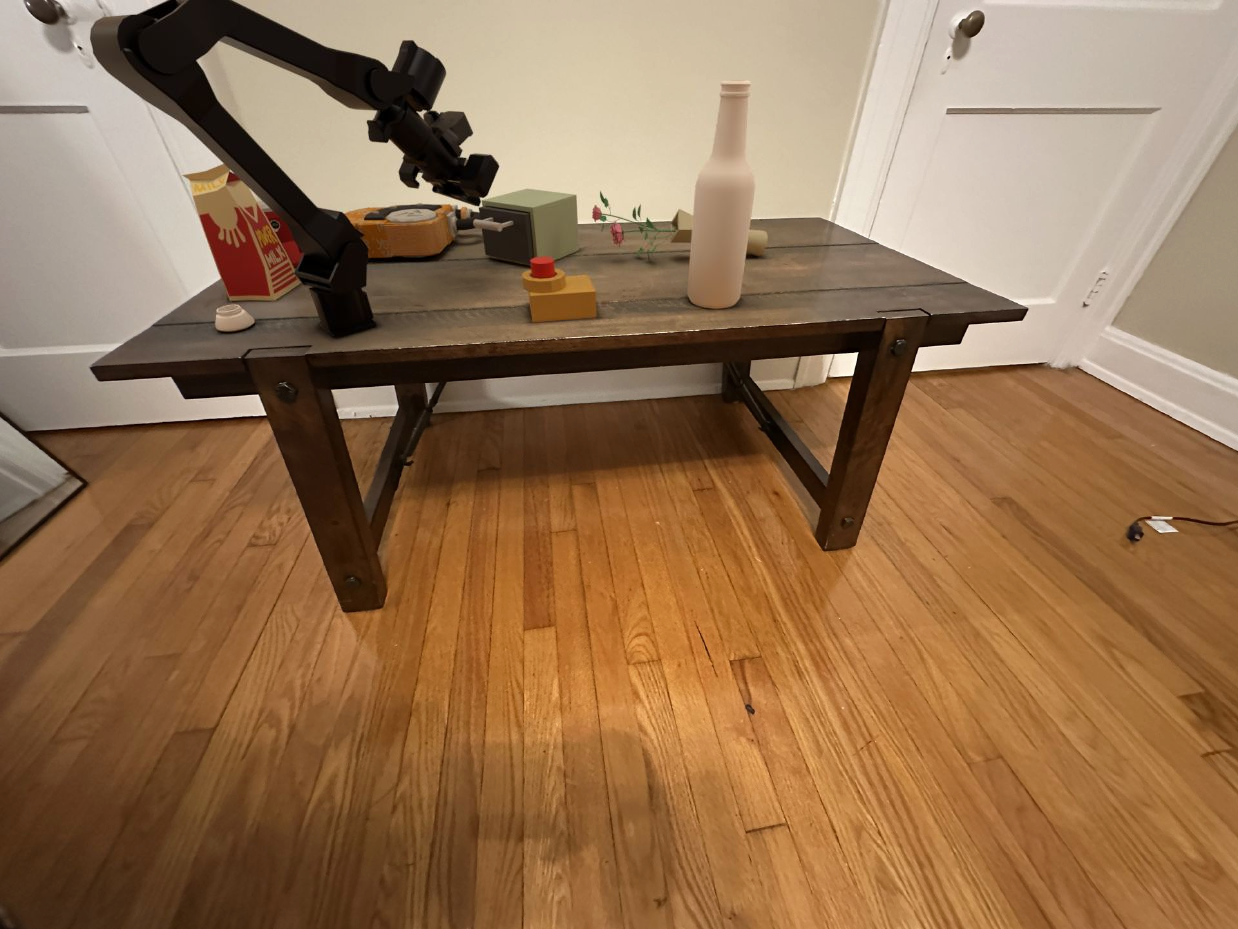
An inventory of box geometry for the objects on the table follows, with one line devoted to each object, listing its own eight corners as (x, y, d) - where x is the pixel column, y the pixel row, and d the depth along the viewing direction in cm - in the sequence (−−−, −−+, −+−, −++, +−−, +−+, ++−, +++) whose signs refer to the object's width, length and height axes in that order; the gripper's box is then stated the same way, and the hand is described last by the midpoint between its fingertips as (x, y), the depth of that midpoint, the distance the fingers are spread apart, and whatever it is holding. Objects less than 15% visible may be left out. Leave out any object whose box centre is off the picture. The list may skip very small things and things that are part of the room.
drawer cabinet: (538, 267, 104) (532, 207, 98) (489, 257, 109) (481, 200, 103) (579, 250, 113) (576, 194, 107) (532, 242, 119) (527, 188, 112)
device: (349, 196, 119) (483, 194, 120) (360, 235, 124) (489, 233, 125) (305, 220, 101) (464, 217, 102) (320, 264, 106) (471, 262, 107)
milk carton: (301, 282, 97) (255, 157, 85) (276, 301, 90) (223, 166, 78) (250, 283, 97) (197, 158, 85) (222, 301, 90) (159, 167, 77)
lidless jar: (216, 325, 81) (219, 336, 78) (207, 306, 80) (210, 317, 76) (253, 318, 84) (257, 328, 80) (245, 299, 82) (249, 309, 79)
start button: (532, 281, 80) (530, 264, 79) (531, 274, 83) (529, 257, 82) (556, 279, 81) (555, 262, 79) (554, 272, 84) (552, 255, 82)
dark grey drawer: (514, 270, 99) (507, 219, 94) (468, 261, 104) (460, 212, 99) (568, 248, 111) (565, 202, 106) (525, 240, 116) (521, 196, 111)
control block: (527, 323, 82) (523, 284, 78) (524, 304, 88) (520, 267, 84) (596, 317, 84) (595, 279, 80) (589, 299, 90) (587, 263, 86)
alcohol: (699, 312, 85) (720, 81, 67) (679, 294, 92) (693, 80, 74) (748, 306, 87) (782, 81, 69) (725, 289, 94) (750, 79, 76)
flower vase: (749, 297, 112) (587, 268, 102) (736, 262, 119) (583, 233, 109) (777, 246, 102) (601, 210, 93) (760, 212, 110) (596, 176, 100)
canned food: (257, 266, 105) (233, 206, 98) (293, 256, 110) (273, 198, 104) (282, 272, 102) (259, 210, 95) (318, 261, 108) (298, 201, 101)
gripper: (480, 92, 77) (536, 167, 91) (394, 89, 85) (458, 159, 99) (451, 161, 77) (512, 226, 91) (367, 152, 84) (435, 213, 99)
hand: (478, 203), depth 95 cm, fingers closed
